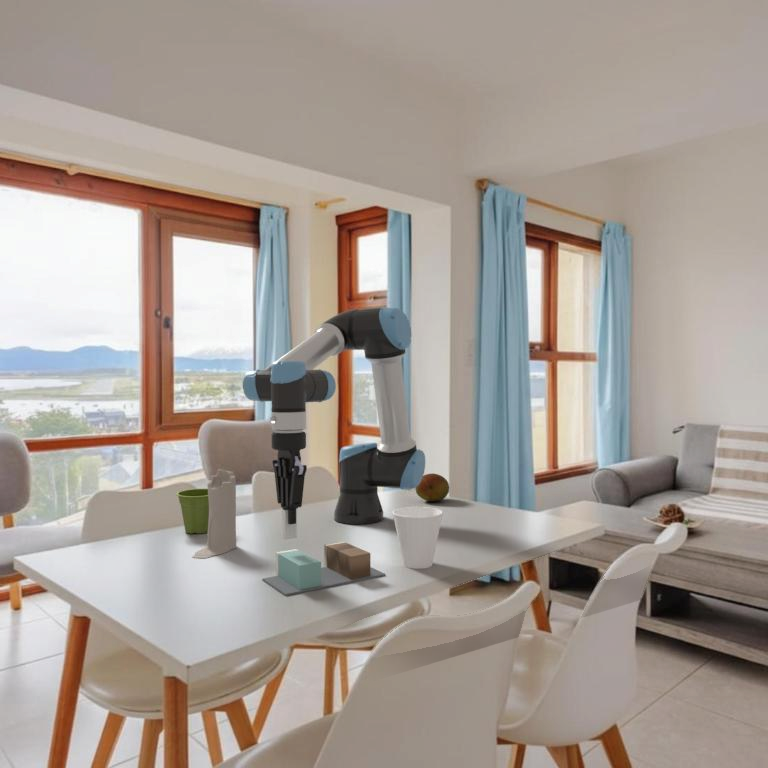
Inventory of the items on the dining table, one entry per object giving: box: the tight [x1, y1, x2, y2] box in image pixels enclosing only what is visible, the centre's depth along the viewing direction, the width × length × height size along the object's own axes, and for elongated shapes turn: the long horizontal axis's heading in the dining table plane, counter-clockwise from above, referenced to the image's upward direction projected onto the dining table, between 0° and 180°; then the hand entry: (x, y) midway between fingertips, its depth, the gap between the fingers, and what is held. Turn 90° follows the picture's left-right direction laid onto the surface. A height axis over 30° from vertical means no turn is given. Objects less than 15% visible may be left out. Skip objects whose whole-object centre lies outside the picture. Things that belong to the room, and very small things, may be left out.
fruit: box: [414, 473, 450, 503], centre depth 229 cm, size 12×12×10 cm
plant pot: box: [176, 488, 209, 535], centre depth 187 cm, size 12×12×11 cm
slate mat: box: [261, 566, 386, 597], centre depth 143 cm, size 12×24×1 cm, turn 123°
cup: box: [392, 506, 444, 570], centre depth 153 cm, size 12×12×12 cm
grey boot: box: [192, 468, 237, 559], centre depth 166 cm, size 7×14×20 cm, turn 160°
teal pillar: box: [275, 548, 322, 590], centre depth 141 cm, size 5×5×12 cm
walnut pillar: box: [323, 541, 371, 580], centre depth 147 cm, size 5×5×12 cm
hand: (289, 537), depth 144 cm, fingers closed
